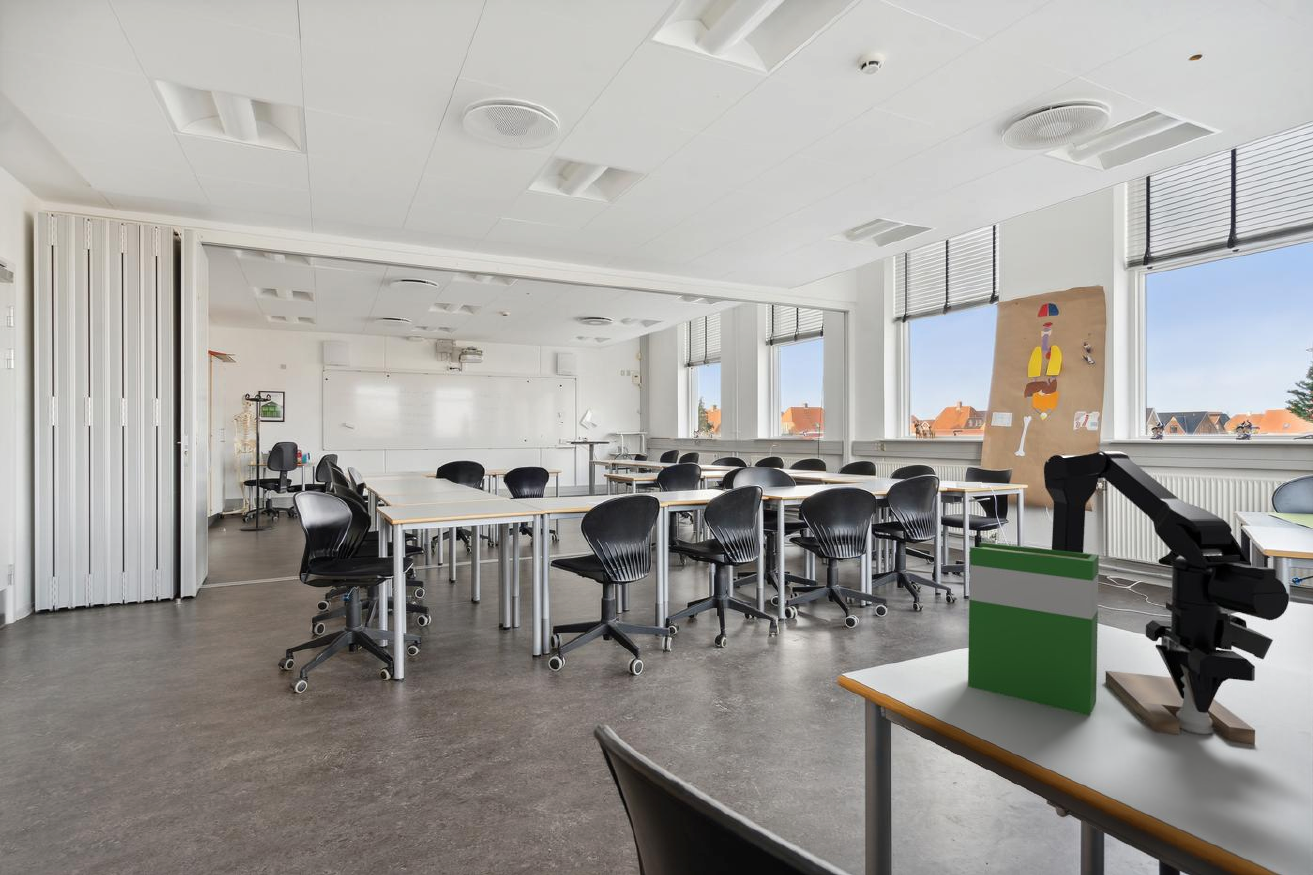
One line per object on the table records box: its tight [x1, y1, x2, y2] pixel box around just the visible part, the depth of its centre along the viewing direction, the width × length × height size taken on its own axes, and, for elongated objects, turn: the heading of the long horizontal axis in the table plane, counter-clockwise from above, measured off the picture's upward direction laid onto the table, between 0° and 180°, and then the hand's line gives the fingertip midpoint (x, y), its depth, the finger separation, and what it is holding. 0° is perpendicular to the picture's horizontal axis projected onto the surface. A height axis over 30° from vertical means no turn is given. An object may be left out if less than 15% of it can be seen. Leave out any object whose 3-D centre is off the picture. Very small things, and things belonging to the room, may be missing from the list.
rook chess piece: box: [1176, 676, 1214, 736], centre depth 97 cm, size 4×4×8 cm
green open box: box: [967, 541, 1100, 717], centre depth 109 cm, size 18×7×24 cm, turn 50°
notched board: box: [1104, 670, 1256, 745], centre depth 104 cm, size 12×20×2 cm, turn 163°
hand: (1193, 705), depth 97 cm, fingers open, 5 cm apart
